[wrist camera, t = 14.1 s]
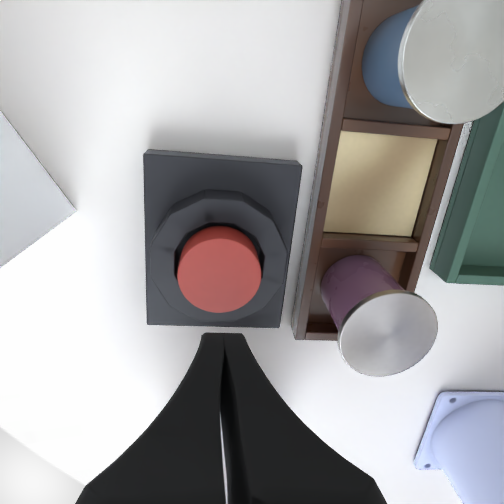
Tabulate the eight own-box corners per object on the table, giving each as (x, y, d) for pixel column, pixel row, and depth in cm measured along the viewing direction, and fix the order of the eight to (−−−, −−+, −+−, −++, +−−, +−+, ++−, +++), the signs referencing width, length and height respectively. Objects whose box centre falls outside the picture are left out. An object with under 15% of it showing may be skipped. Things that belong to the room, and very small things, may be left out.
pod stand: (484, -11, 18) (506, -19, 17) (390, 328, 26) (399, 342, 25) (346, -30, 18) (357, -40, 16) (290, 326, 25) (295, 340, 24)
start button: (181, 223, 19) (178, 236, 17) (261, 227, 19) (265, 240, 18) (179, 294, 20) (176, 311, 19) (254, 296, 21) (257, 314, 19)
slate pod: (465, 8, 18) (557, -20, 13) (436, 118, 20) (507, 129, 15) (364, -5, 18) (422, -40, 13) (344, 110, 20) (388, 118, 15)
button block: (147, 149, 20) (135, 159, 17) (297, 160, 21) (311, 172, 18) (150, 312, 24) (141, 344, 21) (276, 316, 25) (284, 347, 22)
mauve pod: (400, 250, 23) (450, 295, 18) (382, 320, 25) (422, 377, 20) (320, 246, 23) (350, 291, 18) (308, 317, 25) (331, 376, 20)
